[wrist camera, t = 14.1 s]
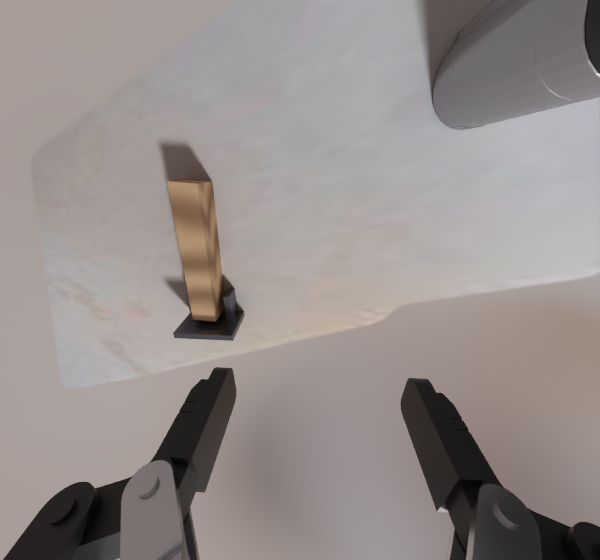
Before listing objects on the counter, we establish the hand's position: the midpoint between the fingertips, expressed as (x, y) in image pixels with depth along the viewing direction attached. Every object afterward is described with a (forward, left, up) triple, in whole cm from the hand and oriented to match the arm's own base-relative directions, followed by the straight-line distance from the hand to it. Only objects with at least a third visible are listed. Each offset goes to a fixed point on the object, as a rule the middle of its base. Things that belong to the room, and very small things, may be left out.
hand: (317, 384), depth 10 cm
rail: (+4, -18, -28) cm, 34 cm away
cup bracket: (+14, -18, -28) cm, 36 cm away
